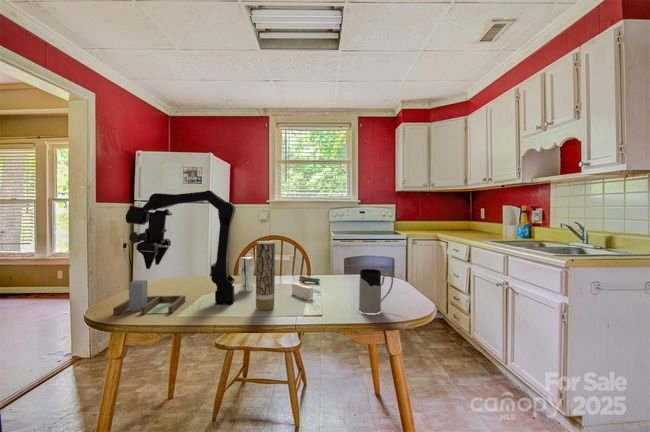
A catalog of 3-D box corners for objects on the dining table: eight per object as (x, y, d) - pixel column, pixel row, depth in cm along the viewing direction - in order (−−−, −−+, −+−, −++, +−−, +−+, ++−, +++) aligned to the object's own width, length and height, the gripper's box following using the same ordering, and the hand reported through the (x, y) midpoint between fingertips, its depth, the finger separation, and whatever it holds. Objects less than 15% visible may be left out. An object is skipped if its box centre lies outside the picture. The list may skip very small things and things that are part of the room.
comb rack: (185, 301, 130) (185, 295, 130) (172, 313, 115) (172, 306, 115) (133, 302, 128) (133, 296, 128) (113, 315, 113) (113, 308, 113)
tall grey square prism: (147, 306, 123) (147, 280, 122) (142, 310, 118) (142, 283, 118) (134, 307, 122) (134, 280, 122) (128, 310, 118) (128, 283, 117)
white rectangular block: (318, 301, 134) (318, 288, 134) (290, 303, 132) (290, 288, 132) (313, 292, 149) (313, 280, 149) (288, 293, 147) (288, 280, 147)
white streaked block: (250, 292, 145) (250, 258, 145) (236, 291, 147) (236, 258, 146) (256, 288, 152) (257, 256, 152) (242, 288, 153) (243, 256, 153)
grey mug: (353, 309, 123) (354, 269, 122) (385, 305, 128) (386, 267, 128) (365, 316, 115) (366, 274, 114) (399, 312, 120) (399, 271, 120)
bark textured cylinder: (258, 312, 118) (259, 242, 118) (253, 307, 124) (254, 241, 124) (276, 309, 121) (277, 242, 121) (270, 304, 127) (271, 240, 127)
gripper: (144, 223, 133) (140, 261, 134) (122, 225, 115) (118, 269, 115) (172, 225, 135) (169, 263, 135) (156, 228, 117) (151, 272, 117)
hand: (152, 266), depth 125 cm, fingers open, 9 cm apart
